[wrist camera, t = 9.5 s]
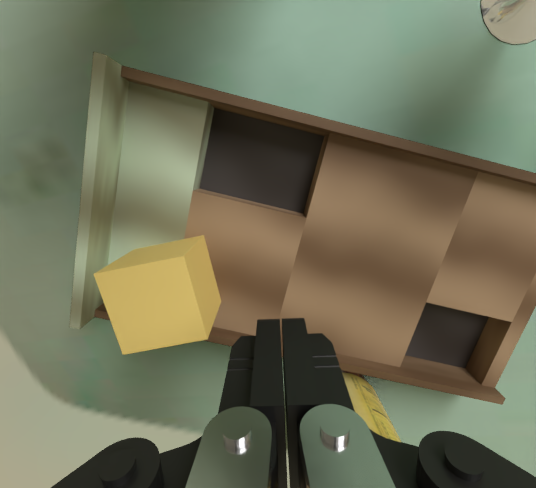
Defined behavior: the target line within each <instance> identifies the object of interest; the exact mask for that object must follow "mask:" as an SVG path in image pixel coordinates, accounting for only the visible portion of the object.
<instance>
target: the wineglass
mask: <svg viewBox="0 0 536 488" xmlns="http://www.w3.org/2000/svg"><path fill="white" fill-rule="evenodd" d="M481 9H482V14H483V19H484V22H485V24H486V25H487V27H488V29H489V30H490V32H491V33H492V34H493V35H494V36H496V37H497V38H498V39H499V40H501V41H504V42H507V43H511V44H522V43H528V42H531V41H533V40H535V39H536V0H482V1H481Z"/></svg>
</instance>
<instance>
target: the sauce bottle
mask: <svg viewBox="0 0 536 488" xmlns="http://www.w3.org/2000/svg"><path fill="white" fill-rule="evenodd" d="M341 371H342V374H343V377H344V380H345V383H346V386H347V389H348V392H349V395H350V398H351V401H352V404H353V407H354V410H355V412H356V413H357V414H358V415H359V416H360V417H361V418H363V420H364V421H365V422H366V424H367V426H368V427H369V429H371V430H372V431H374V432H375V433H377V434H379V435H381V436H383V437H385V438H388V439H391V440H394V441H398V442H401V440H400V438H399V436H398V435H397V433H396V431H395V429H394V427H393V425H392V423H391V421H390V419H389V417H388V415H387V413H386V411H385V409H384V408H383V406H382V404H381V402H380V400H379V398H378V396H377V394H376V392H375V391H374V389H373V387H372V386H371V385H370V384H369V383H368V382H367V380H365V378H364V377H363V376H362V375H361V374H358V373H353V372H349V371H344V370H341Z"/></svg>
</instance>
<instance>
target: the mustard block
mask: <svg viewBox="0 0 536 488" xmlns="http://www.w3.org/2000/svg"><path fill="white" fill-rule="evenodd" d="M94 277H95V280H96V282H97V285H98V288H99V291H100V293H101V296H102V299H103V302H104V304H105V307H106V310H107V312H108V315H109V318H110V321H111V323H112V326H113V329H114V332H115V334H116V337H117V340H118V342H119V345H120V348H121V351H122V353H123V355H125V354H130V353H136V352H141V351H147V350H152V349H158V348H163V347H169V346H174V345H180V344H185V343H191V342H196V341H202V340H207V339H208V337H209V334H210V331H211V329H212V326H213V323H214V320H215V317H216V315H217V312H218V309H219V306H220V303H221V298H220V295H219V291H218V287H217V283H216V279H215V276H214V272H213V268H212V264H211V260H210V257H209V253H208V249H207V245H206V241H205V238H204V235H202V236H197V237H192V238H187V239H182V240H178V241H173V242H168V243H163V244H158V245H153V246H148V247H143V248H138V249H134V250H132V251H130V252H129V253H127V254H125V255H124V256H122V257H120V258H119V259H117V260H116V261H114V262H112V263H111V264H109V265H107V266H106V267H104V268H102V269H101V270H99V271H97V272H96V273H94Z"/></svg>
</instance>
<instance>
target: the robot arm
mask: <svg viewBox="0 0 536 488" xmlns="http://www.w3.org/2000/svg"><path fill="white" fill-rule="evenodd" d="M282 343H283V369H284V388H285V406H286V423H287V441H288V458H289V475H290V488H536V477H534V476H533V475H531V474H530V473H528V472H526V471H525V470H523V469H521V468H520V467H518V466H516V465H515V464H513V463H511V462H510V461H508V460H507V459H505V458H503V457H502V456H500V455H498V454H497V453H495V452H493V451H492V450H490V449H488V448H487V447H485V446H484V445H482V444H480V443H479V442H477V441H475V440H473V439H471V438H469V437H467V436H464V435H462V434H458V433H455V432H450V431H436V432H432V433H430V434H428V435H426V436H425V437H424V438H423V439H422V440H421V442H420V445H419V447H417V446H413V445H410V444H406V443H402V442H398V441H394V440H391V439H388V438H385V437H383V436H381V435H379V434H377V433H375V432H374V431H372V430H371V429H369V427H368V426H367V424H366V422H365V421H364V420H363V418H361V417H360V416H359V415H358V414H357V413H356V412H355V410H354V407H353V404H352V401H351V398H350V395H349V392H348V389H347V386H346V383H345V380H344V377H343V374H342V371H341V368H340V366H339V362H338V359H337V357H336V353H335V350H334V347H333V344H332V342H331V341H330V340H329V339H328V338H327V337H326V336H325V335H324V334H323V333H313V334H308V333H307V328H306V323H305V319H304V318H282ZM51 488H287V467H286V440H285V413H284V391H283V372H282V353H281V334H280V319H257V327H256V336H240V338H239V339H238V340H237V341H236V342H235V343H234V345H233V346H232V349H231V354H230V361H229V364H228V370H227V373H226V378H225V383H224V388H223V392H222V397H221V402H220V407H219V412H218V414H217V415H216V416H215V417H214V418H212V420H211V421H210V422H209V423H208V425H207V426H206V428H205V430H204V433H203V436H201V437H200V438H198V439H197V440H195V441H193V442H192V443H190V444H187V445H184V446H182V447H179V448H176V449H173V450H170V451H166V452H163V453H160V454H159V451H158V448H157V447H156V446H155V444H154V443H152V442H151V441H149V440H147V439H144V438H128V439H125V440H121V441H119V442H116V443H114V444H112V445H110V446H108V447H107V448H105V449H104V450H102V451H101V452H99V453H98V454H97V455H95V456H94V457H92V458H91V459H90V460H88V461H87V462H86V463H84V464H83V465H81V466H80V467H79V468H77V469H76V470H75V471H73V472H72V473H70V474H69V475H68V476H66V477H65V478H63V479H62V480H61V481H60V482H58V483H57V484H55V485H54V486H53V487H51Z"/></svg>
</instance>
